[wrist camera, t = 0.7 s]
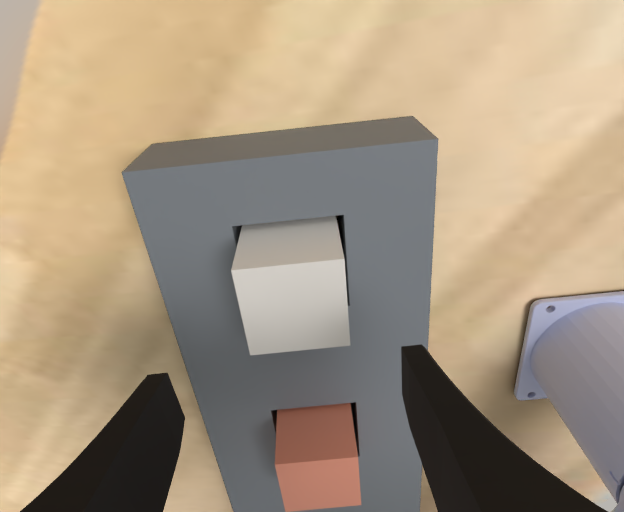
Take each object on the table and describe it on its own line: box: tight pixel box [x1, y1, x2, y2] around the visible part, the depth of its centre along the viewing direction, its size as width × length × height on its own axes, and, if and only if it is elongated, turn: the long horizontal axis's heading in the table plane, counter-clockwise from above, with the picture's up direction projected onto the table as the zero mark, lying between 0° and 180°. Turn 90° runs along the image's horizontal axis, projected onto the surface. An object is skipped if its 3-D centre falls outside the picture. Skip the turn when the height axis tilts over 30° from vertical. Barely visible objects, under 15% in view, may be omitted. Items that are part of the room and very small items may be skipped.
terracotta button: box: [275, 403, 361, 512], centre depth 23 cm, size 4×4×4 cm
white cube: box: [231, 216, 350, 355], centre depth 18 cm, size 4×4×4 cm
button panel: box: [122, 116, 438, 512], centre depth 26 cm, size 12×32×4 cm, turn 6°
